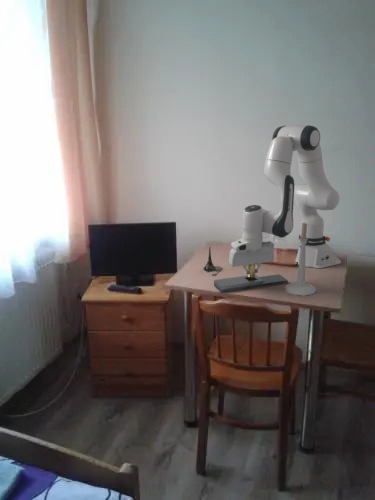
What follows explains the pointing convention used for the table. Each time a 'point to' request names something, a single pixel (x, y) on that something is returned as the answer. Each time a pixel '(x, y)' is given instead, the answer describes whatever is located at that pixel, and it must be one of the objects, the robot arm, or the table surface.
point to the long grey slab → (248, 282)
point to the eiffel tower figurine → (211, 266)
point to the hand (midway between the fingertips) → (251, 273)
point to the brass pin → (251, 272)
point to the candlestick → (301, 271)
